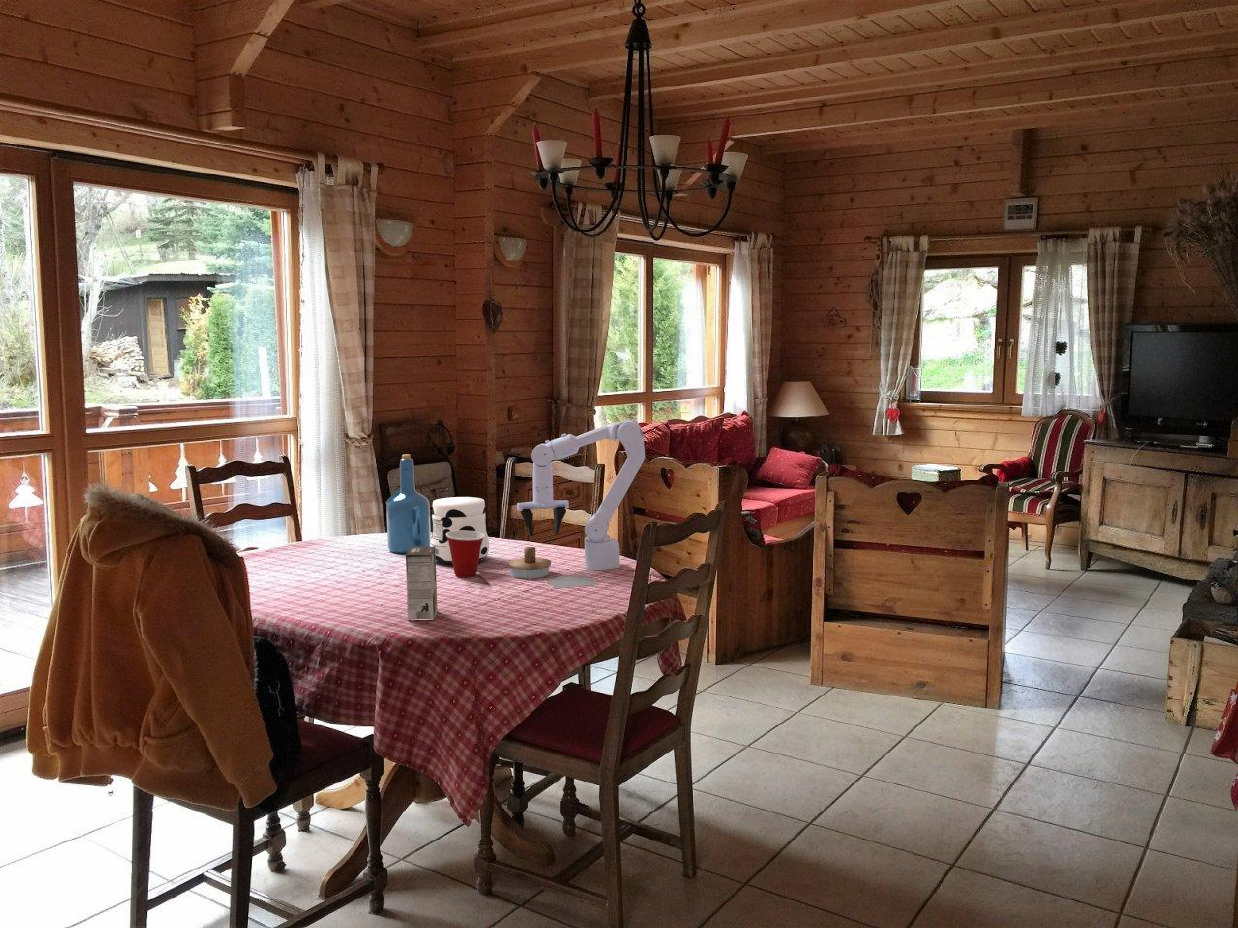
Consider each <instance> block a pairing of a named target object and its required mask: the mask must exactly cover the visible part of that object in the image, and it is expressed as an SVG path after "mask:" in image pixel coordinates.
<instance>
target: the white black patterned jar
mask: <svg viewBox="0 0 1238 928" xmlns="http://www.w3.org/2000/svg"><path fill="white" fill-rule="evenodd" d="M431 512H432V515H431V518H432V519H431V520H432V534H431V542H430V547H435V553H436V562H440V563H443V564H452V558H451V553H450V547H449V543H448V539H447V536H446V533H447V532H450V531H458V530H466V531H475V532H480V533H483V534H484V535H485V537H484V538H483V540H482V544H481V548H480V554H479V561H482V560H484V559H486V557H488V555H489V551H490V539H489V536H488V533H487V526H486V515H487V514H486V503H485V499H483V498H481V497H474V496H473V497H472V496H455V497H453V496H451V497H444V498H438V499H435V500H433V502H432V509H431ZM479 561H478V562H479ZM452 565H453V564H452Z"/></svg>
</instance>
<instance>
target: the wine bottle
mask: <svg viewBox="0 0 1238 928" xmlns="http://www.w3.org/2000/svg"><path fill="white" fill-rule="evenodd" d="M411 457H412V455H411V454H409V453H408V454H407V453H406V454H402V455H401V458H400V460H399V461H400V463H399V473H400V474H399V479H400V481H399V482H400V483H399V484H400V486H399V488H400V489H399V490H397V491H396V492H394V494H393V495H391V496H389V498H387V500H386V501H385V504H386V506H385V507H386V534H387V538H386V540H387V548H388V550H389V552H392V553H394V554H395V553H396V554H401V555H402V554H405V555H406V554H407V552H408V549H409V547H415V546H425V547H430V542H431V537H432V534H431V508H430V506H431V504H430V501H429V500H428V498H427V497H426V496H425V495H423V494H421V493H419V492H417V490H416V489H415V488H416V487H415V473H414V471H415V468H414V467H415V466H414V460H413V458H411Z"/></svg>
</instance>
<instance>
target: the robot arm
mask: <svg viewBox="0 0 1238 928" xmlns="http://www.w3.org/2000/svg"><path fill="white" fill-rule="evenodd" d="M617 439H618V440H619V441H618V442H620V443H621V444H622V446H623V448H624V451H625V453H626V457H627V458H626V459H625V461H624V463H623V465H622V466H621V468H620V470H619V472H618V474H617V476H616V477H615V478H614V481H613V482H612V484H611V486H610V488H609V490H608V491H607V493H606V495H605V497H604V499H603V500H602V502H601V503H600V505H599V507H598V508H597V511H596V512H595V513H594V514H592V515H591V516H590V517H589V519H588V520H587V523H586V524H585V525H584V526H585V527H584V533H585V537H584V568H585V569H586V570H590V571H605V570H611V569H620V544H619V541H618V539H617V538H611V536H610V535H609V534H608V531H609V529H610V522H611V520H612V519H613V516H614V515H615V512H616V511H617V509H618V507H619V506H620V504H621V502H622V500H623V499H624V497H625V496H626V493H627V491H628V490H629V488H630V486H631V485H632V483H633V481H634V479H635V477H636V475H637V474H638V472H639V470H640V468H641V467H642V465H643V464H644V461H645V459H646V448H645V440H644V432H643V430H642V427H641V425H640V424H639V422H638V421H636V420H635V419H631V418H629V419H628V418H627V419H625V420H623V421H615V422H611V423H608V424H604V425H602V426H600V427H597V428H594V429H591V430H590V431H587V432H584V433H582V434H580V435H578V436H576V435H573V434H572V433H568V434H566V433H563V434H561V435H560V437H559V438H554V439H552V440H549V439H547V440H545V441H544V442H545V443H540V444H538V445H536V446H534V448H533V449H532V451H531V453H530V457H531V461H532V462H533V463H532V501H526V502H518V503H516V506H517V507H516V509H517V511H519V512H520V514H521V516H522V518H523V519H524V520H523V521H524V522H525V526H526V529H527V535H528V536H529V537H532V536H533V532H534V531H533V518H534V517H533V516H534V515H533V514H534V513H533V512H532V510H549V509H552V511H553V520H554V521H553V532H554V534H556V535H559V532H560V528H561V524H562V522H563V519H564V517H565V514H566V513H567V509H569V500H567V499H564V500H561V499H560V500H554V473H553V472H554V471H553V461H559V460H561V459H565V458H567V457H569V456H570V457H571V456H573V455H575V454H577V453H578V452H579V449H580V448H581V447H585V446H587V445H590V444H593V443H596V442H599V441H603V440H611V441H614V442H615V441H617Z"/></svg>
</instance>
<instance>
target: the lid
mask: <svg viewBox="0 0 1238 928" xmlns="http://www.w3.org/2000/svg"><path fill="white" fill-rule="evenodd" d="M523 549H524V551H523V552H524V557H520V558H515V559H512V560H510V561H509V562H508V566H509V568H510V567H511V568H513V569H519V570H537V569H543V568H547V567H549V568H550V567H551V566H552V561H551V560H550V559H548V558H543V557H536V547H535V546H526V547H524V548H523Z"/></svg>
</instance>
